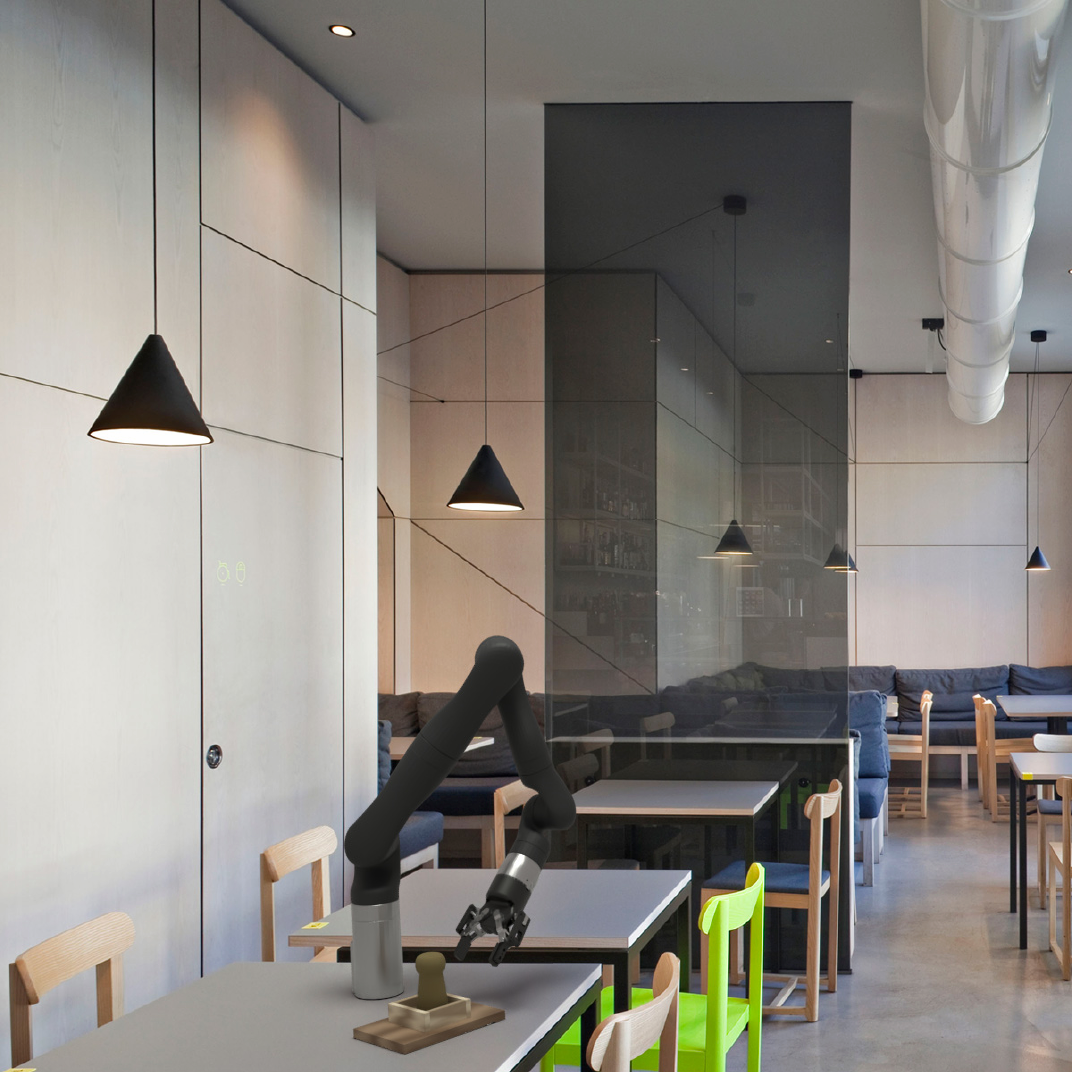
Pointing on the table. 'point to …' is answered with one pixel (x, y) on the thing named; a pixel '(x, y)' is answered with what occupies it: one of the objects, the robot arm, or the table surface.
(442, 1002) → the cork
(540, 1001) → the table surface
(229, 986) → the table surface
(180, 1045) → the table surface
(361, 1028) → the collar board
